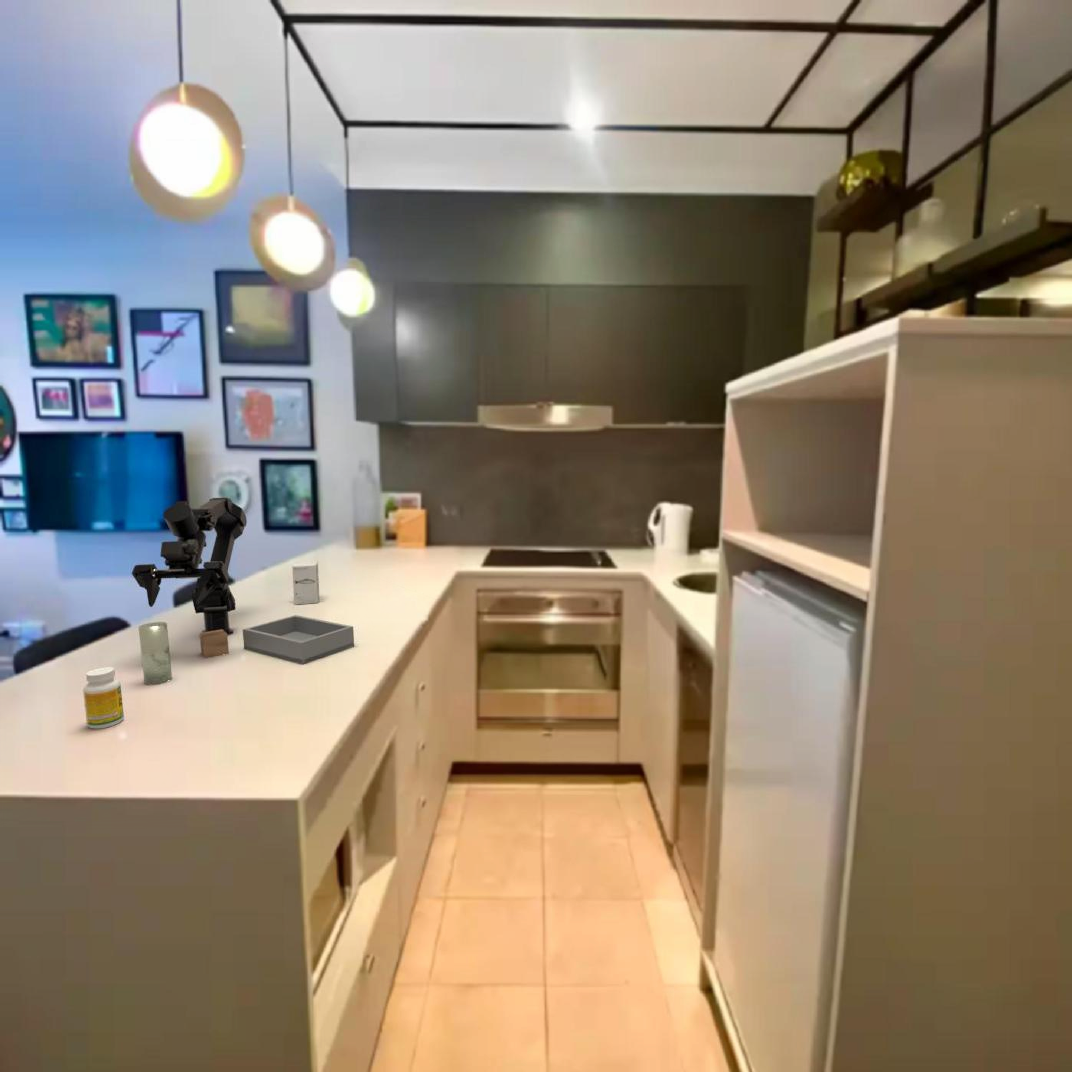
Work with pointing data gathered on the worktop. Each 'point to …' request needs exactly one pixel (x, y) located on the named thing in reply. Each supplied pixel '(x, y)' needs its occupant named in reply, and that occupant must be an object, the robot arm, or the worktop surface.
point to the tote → (298, 638)
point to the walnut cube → (214, 643)
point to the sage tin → (155, 653)
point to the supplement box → (305, 582)
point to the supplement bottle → (103, 699)
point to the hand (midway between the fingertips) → (173, 604)
